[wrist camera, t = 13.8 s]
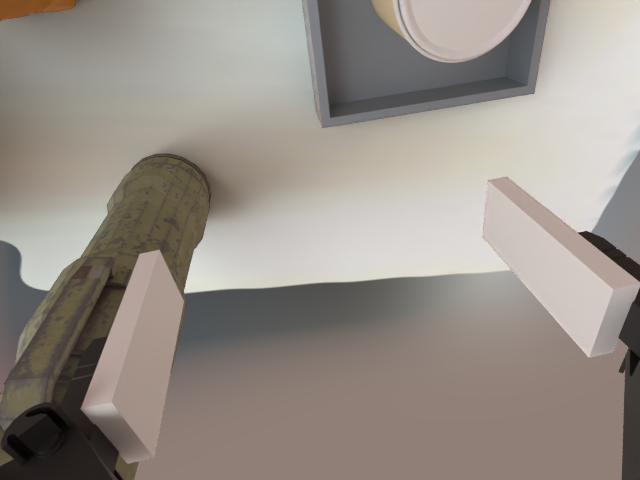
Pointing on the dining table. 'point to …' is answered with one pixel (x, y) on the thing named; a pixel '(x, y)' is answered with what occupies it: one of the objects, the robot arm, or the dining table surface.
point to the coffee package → (32, 7)
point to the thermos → (107, 281)
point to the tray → (407, 65)
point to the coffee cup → (452, 25)
